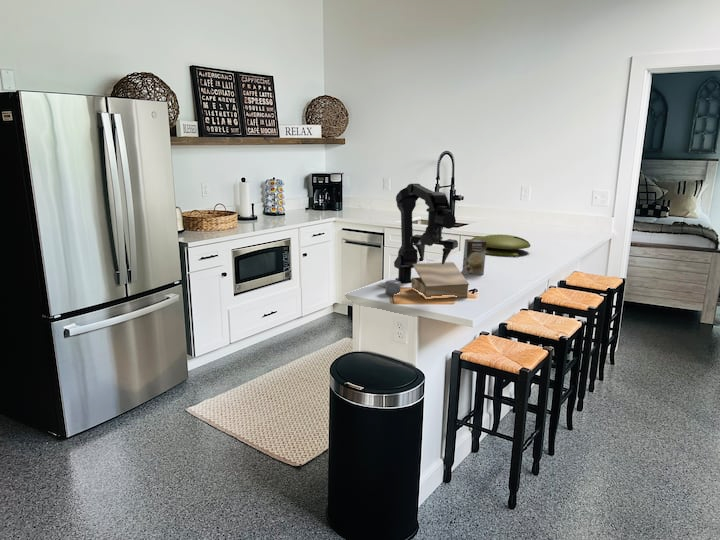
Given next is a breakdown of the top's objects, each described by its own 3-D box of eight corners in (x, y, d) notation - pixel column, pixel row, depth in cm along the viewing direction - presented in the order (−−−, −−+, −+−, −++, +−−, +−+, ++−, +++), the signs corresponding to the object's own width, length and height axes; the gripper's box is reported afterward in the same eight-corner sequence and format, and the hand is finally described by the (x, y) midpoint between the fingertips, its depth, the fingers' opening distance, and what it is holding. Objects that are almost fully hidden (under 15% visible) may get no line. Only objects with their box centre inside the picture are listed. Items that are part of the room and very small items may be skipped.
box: (411, 289, 224) (411, 277, 223) (450, 287, 229) (451, 275, 228) (425, 299, 209) (426, 287, 208) (467, 297, 214) (468, 285, 213)
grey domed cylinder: (383, 292, 219) (384, 280, 218) (397, 291, 221) (397, 279, 219) (388, 296, 213) (388, 284, 212) (402, 295, 215) (402, 283, 214)
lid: (412, 265, 221) (412, 263, 221) (453, 263, 226) (453, 262, 226) (426, 287, 208) (426, 286, 208) (468, 285, 213) (468, 283, 213)
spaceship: (465, 254, 303) (467, 237, 300) (471, 245, 331) (472, 229, 329) (529, 259, 293) (531, 241, 291) (529, 249, 322) (531, 233, 319)
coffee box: (465, 274, 252) (467, 241, 248) (462, 271, 258) (464, 239, 255) (484, 274, 252) (486, 241, 249) (480, 271, 259) (483, 239, 255)
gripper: (404, 224, 209) (402, 262, 213) (448, 230, 199) (445, 270, 203) (417, 220, 218) (415, 257, 222) (460, 226, 208) (456, 264, 212)
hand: (432, 262), depth 214 cm, fingers open, 9 cm apart
